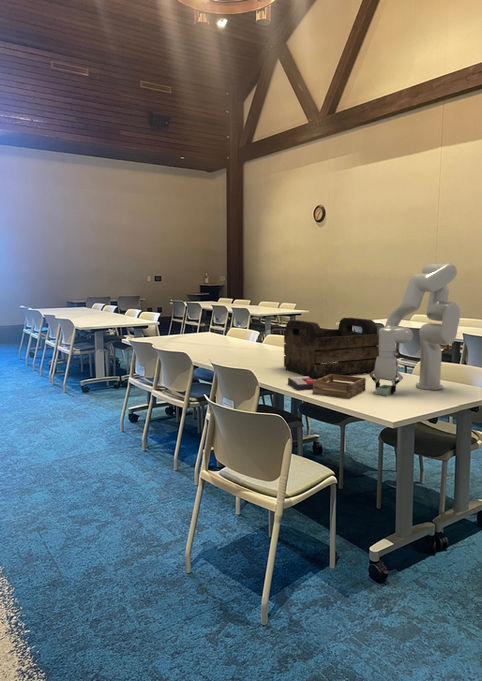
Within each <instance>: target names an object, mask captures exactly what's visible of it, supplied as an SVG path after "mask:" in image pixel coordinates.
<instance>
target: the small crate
mask: <svg viewBox="0 0 482 681" xmlns="http://www.w3.org/2000/svg"><path fill="white" fill-rule="evenodd" d="M391 386H392V384H391V385H389V384H382V385H380V387H378V388H376V389H375V396H382V397H383V396H384V397H389V396H390V395H392V394H391Z"/></svg>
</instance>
